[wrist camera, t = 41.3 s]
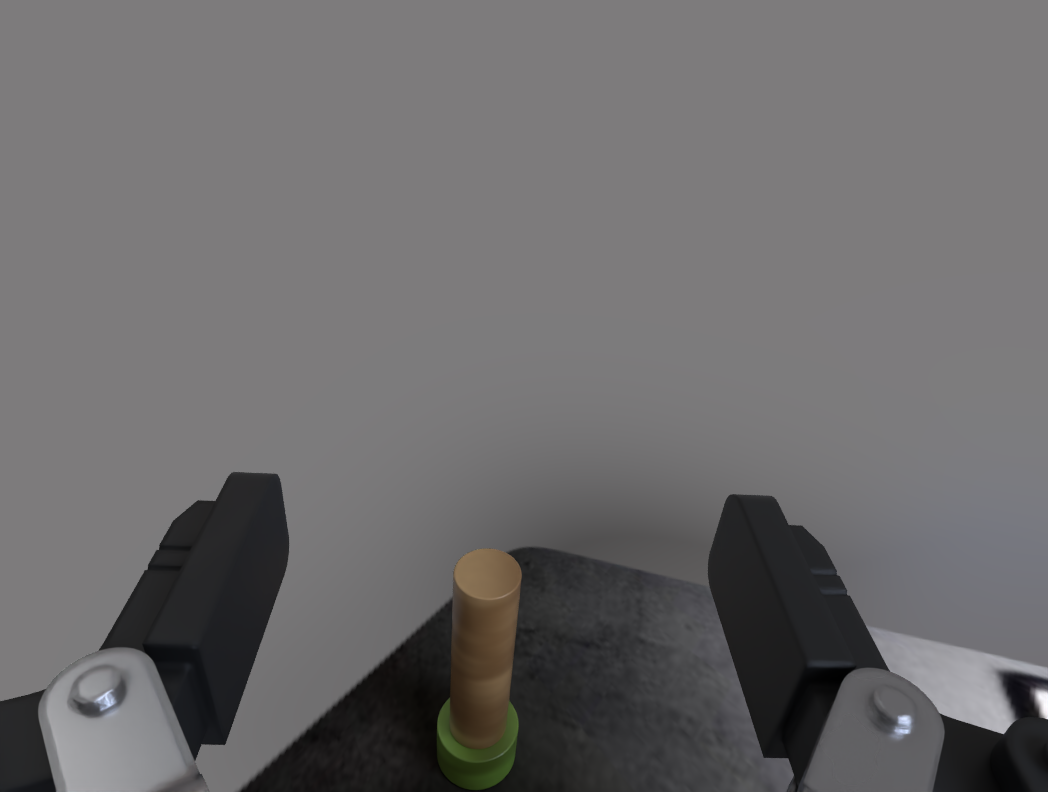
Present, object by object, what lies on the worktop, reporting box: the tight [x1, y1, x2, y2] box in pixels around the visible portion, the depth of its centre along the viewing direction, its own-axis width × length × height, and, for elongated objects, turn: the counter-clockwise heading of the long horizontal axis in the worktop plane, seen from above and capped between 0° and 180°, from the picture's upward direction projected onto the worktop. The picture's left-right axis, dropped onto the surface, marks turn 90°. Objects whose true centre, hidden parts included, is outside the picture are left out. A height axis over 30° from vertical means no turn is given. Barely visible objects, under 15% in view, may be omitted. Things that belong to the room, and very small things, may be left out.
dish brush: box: [437, 549, 522, 790], centre depth 32 cm, size 4×4×13 cm
